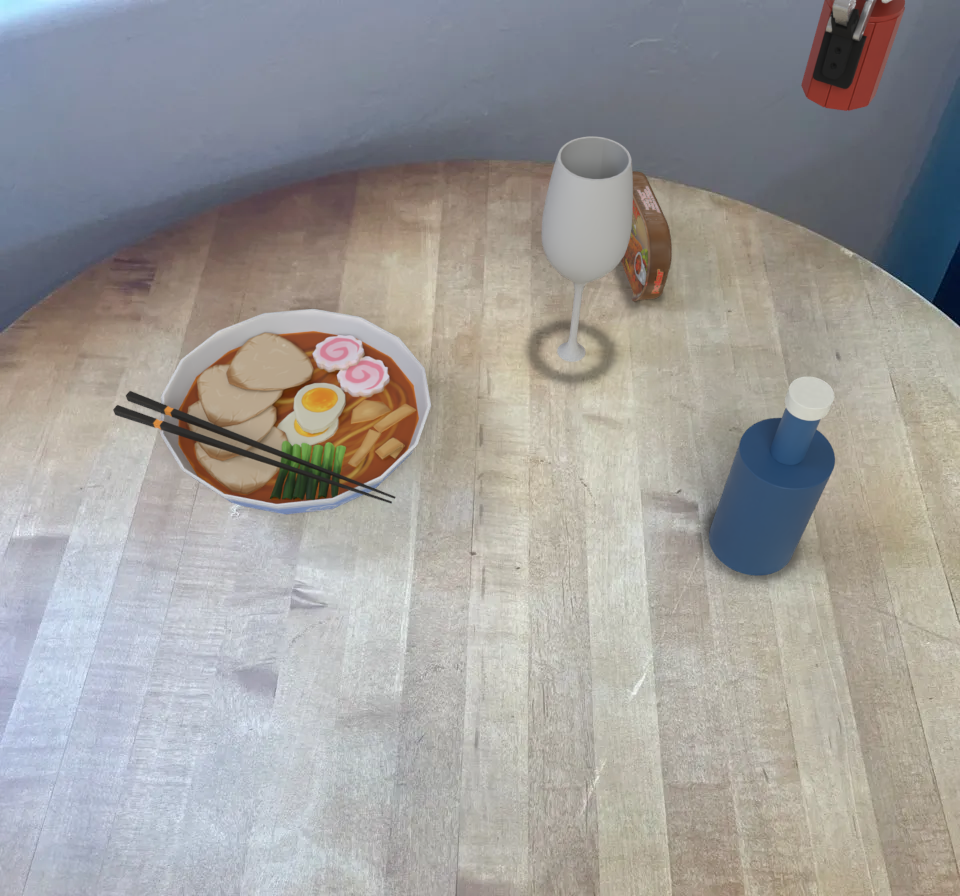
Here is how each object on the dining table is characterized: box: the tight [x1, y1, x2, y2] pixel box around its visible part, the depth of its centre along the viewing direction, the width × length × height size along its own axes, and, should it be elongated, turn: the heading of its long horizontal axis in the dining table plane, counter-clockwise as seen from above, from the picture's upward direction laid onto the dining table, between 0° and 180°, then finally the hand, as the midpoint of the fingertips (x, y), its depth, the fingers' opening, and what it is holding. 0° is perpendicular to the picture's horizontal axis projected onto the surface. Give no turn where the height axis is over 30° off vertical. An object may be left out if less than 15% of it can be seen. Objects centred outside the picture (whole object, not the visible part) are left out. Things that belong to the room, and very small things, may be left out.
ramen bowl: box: [112, 308, 432, 515], centre depth 86 cm, size 25×23×8 cm
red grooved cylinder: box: [800, 0, 906, 112], centre depth 82 cm, size 6×6×7 cm
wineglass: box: [540, 136, 633, 363], centre depth 88 cm, size 8×8×21 cm
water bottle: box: [708, 375, 836, 577], centre depth 78 cm, size 7×7×18 cm
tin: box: [620, 170, 673, 302], centre depth 101 cm, size 15×3×8 cm, turn 10°
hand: (847, 61), depth 83 cm, fingers closed on red grooved cylinder, 6 cm apart
